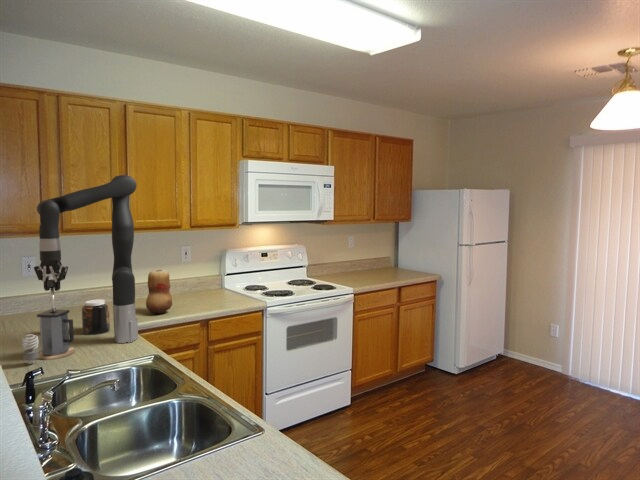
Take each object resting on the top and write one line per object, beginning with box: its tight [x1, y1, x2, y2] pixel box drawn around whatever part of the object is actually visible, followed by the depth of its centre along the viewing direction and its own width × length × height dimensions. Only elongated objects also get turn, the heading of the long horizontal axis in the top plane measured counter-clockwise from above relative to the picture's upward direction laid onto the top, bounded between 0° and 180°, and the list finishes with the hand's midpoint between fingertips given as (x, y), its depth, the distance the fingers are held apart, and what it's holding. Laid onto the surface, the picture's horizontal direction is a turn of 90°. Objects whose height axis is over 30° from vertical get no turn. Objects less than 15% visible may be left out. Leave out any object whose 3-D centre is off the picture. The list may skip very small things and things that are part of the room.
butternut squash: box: [145, 268, 173, 315], centre depth 256 cm, size 14×13×25 cm
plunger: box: [47, 278, 56, 313], centre depth 189 cm, size 7×7×20 cm
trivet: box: [37, 346, 75, 361], centre depth 191 cm, size 14×14×1 cm
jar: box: [81, 299, 111, 336], centre depth 222 cm, size 12×12×15 cm
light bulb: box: [21, 333, 40, 365], centre depth 179 cm, size 6×6×12 cm
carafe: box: [36, 309, 75, 356], centre depth 190 cm, size 13×10×17 cm
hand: (52, 290), depth 188 cm, fingers closed on plunger, 3 cm apart
